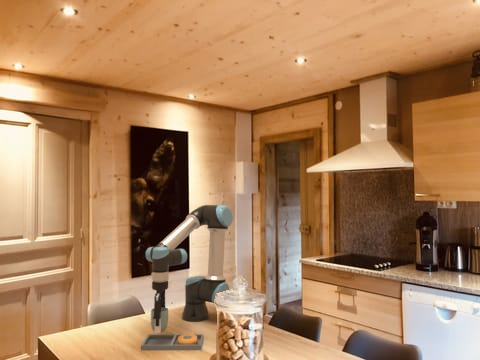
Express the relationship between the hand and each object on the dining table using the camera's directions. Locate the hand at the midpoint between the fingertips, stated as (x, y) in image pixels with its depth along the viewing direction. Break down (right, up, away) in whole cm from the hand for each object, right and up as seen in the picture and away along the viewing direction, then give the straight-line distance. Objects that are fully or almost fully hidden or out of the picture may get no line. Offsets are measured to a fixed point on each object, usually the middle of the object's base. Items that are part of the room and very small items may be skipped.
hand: (159, 329), depth 181 cm
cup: (0, -1, 0) cm, 1 cm away
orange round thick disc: (+13, -7, 0) cm, 15 cm away
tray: (+7, -7, 0) cm, 10 cm away
